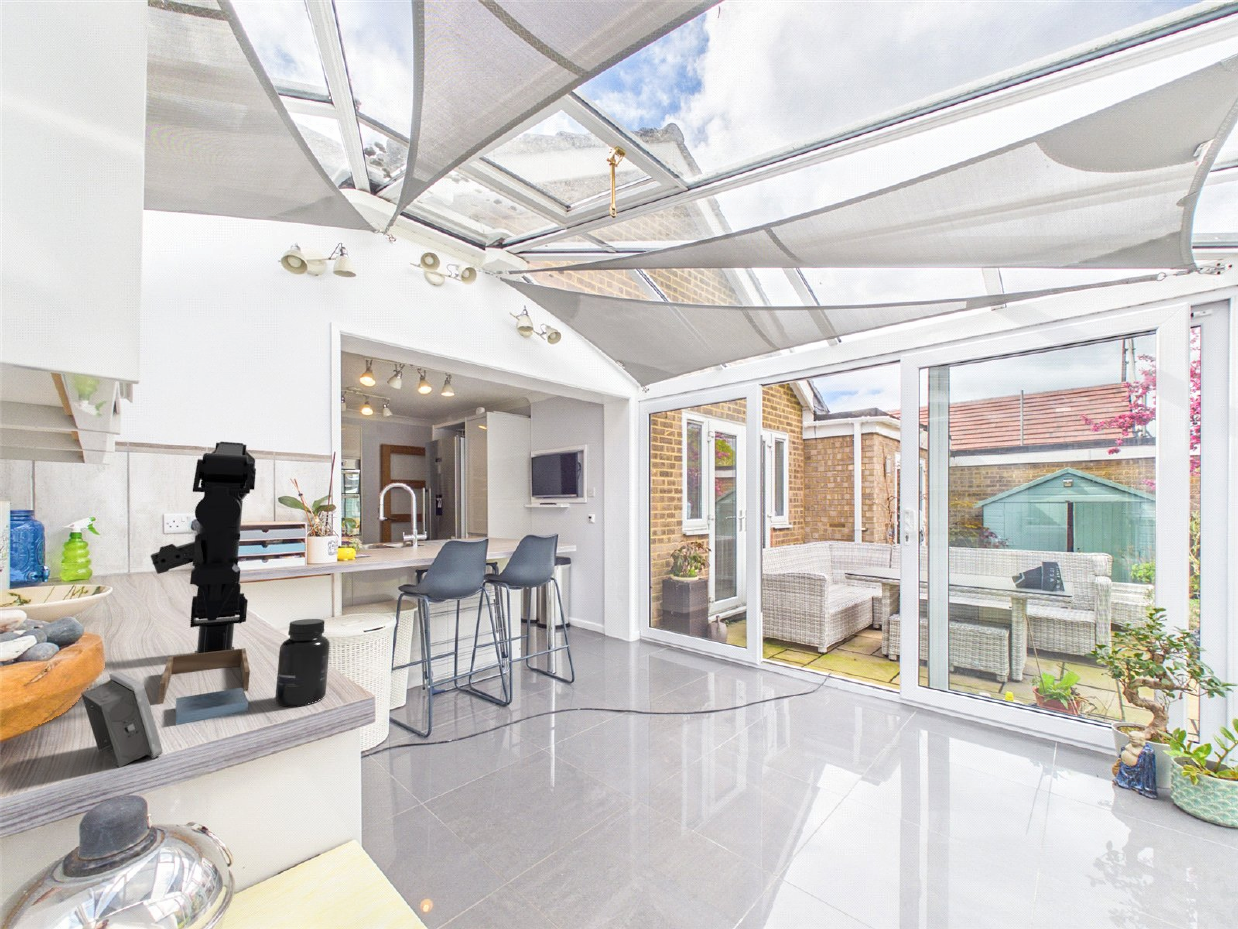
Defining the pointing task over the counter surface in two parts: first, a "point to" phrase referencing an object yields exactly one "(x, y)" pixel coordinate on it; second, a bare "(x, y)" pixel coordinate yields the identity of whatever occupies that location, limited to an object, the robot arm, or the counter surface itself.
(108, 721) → the electrical switch
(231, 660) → the open box
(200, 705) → the cover plate
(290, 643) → the supplement bottle
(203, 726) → the counter surface
